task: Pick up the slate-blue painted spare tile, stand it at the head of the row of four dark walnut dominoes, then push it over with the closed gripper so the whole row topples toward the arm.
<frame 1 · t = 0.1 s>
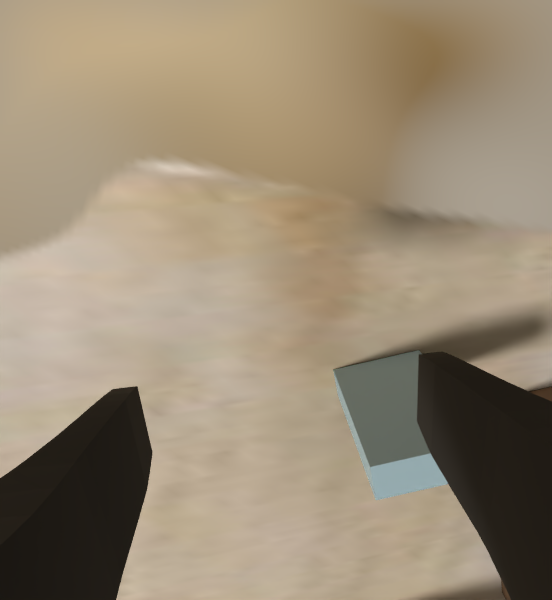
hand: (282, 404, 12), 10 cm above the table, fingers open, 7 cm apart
teal domino: (378, 373, 23), on the table
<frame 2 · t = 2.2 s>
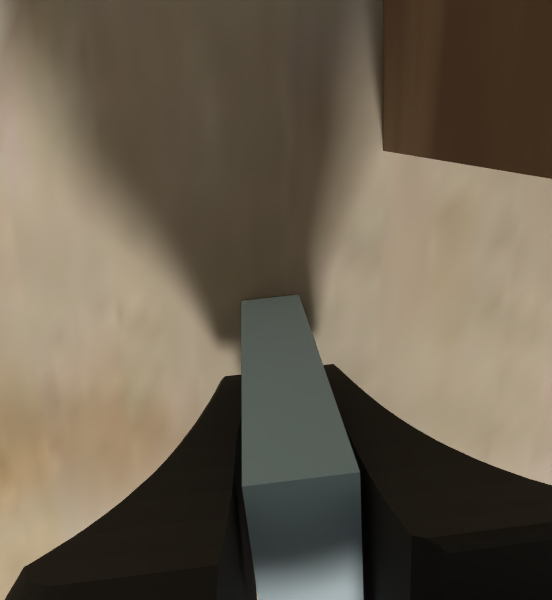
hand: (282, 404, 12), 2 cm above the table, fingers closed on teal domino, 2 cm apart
teal domino: (276, 367, 13), on the table, touching gripper
domino 1: (416, 49, 11), on the table
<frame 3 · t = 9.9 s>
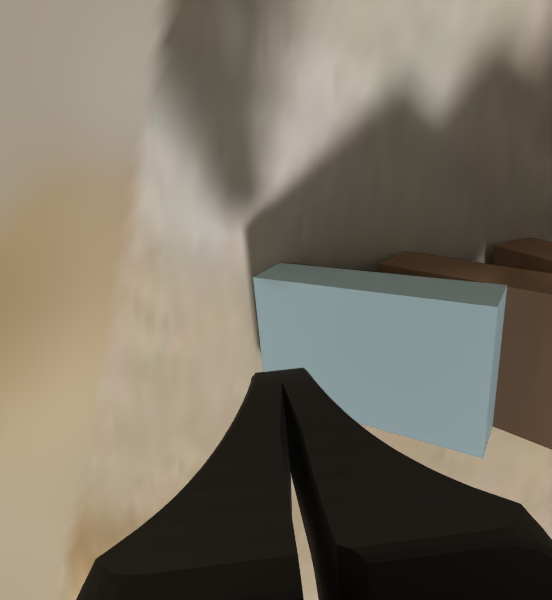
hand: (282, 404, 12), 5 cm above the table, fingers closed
domino 2: (506, 301, 16), on the table, tilted 18°
teal domino: (272, 330, 16), point 1 cm above the table, tilted 54°
domino 1: (391, 317, 16), on the table, tilted 39°
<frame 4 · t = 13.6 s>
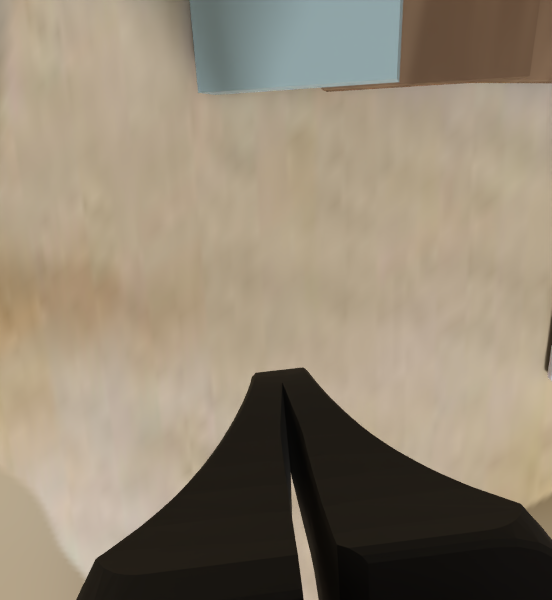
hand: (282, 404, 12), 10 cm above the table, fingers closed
domino 2: (479, 15, 17), point 1 cm above the table, tilted 72°, touching domino 1, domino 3
teal domino: (201, 27, 17), point 1 cm above the table, tilted 69°, touching domino 1
domino 1: (323, 24, 17), point 1 cm above the table, tilted 73°, touching domino 2, teal domino
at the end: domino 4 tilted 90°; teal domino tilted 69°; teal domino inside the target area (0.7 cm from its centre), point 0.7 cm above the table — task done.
